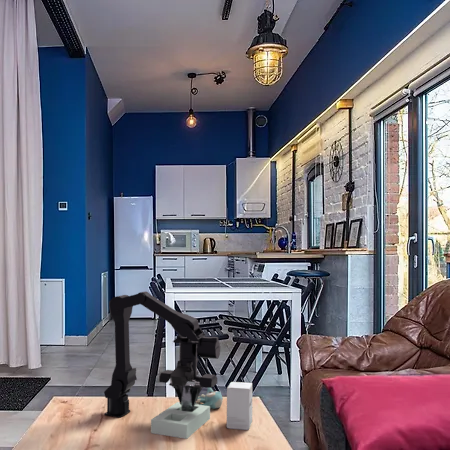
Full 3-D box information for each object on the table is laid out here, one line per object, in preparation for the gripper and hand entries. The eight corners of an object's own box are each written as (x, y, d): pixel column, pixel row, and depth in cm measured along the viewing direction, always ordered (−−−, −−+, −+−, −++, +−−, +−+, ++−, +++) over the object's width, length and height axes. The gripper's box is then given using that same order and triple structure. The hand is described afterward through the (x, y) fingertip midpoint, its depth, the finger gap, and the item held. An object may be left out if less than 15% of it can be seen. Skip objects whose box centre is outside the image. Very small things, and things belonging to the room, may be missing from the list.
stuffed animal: (205, 384, 180) (229, 384, 172) (207, 404, 179) (231, 404, 171) (184, 390, 172) (208, 390, 165) (186, 411, 171) (210, 412, 163)
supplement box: (249, 430, 149) (249, 388, 149) (225, 428, 150) (226, 387, 151) (252, 422, 156) (252, 382, 156) (230, 420, 157) (230, 381, 158)
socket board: (150, 433, 146) (151, 419, 146) (177, 414, 163) (177, 402, 163) (186, 438, 142) (186, 424, 142) (210, 418, 159) (210, 406, 159)
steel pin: (179, 414, 155) (179, 386, 156) (184, 410, 159) (184, 382, 160) (190, 415, 154) (190, 387, 154) (195, 412, 158) (195, 384, 158)
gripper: (150, 359, 153) (150, 409, 153) (204, 364, 147) (204, 417, 146) (167, 352, 164) (166, 399, 163) (218, 357, 157) (217, 405, 156)
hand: (187, 405), depth 157 cm, fingers closed on steel pin, 4 cm apart
